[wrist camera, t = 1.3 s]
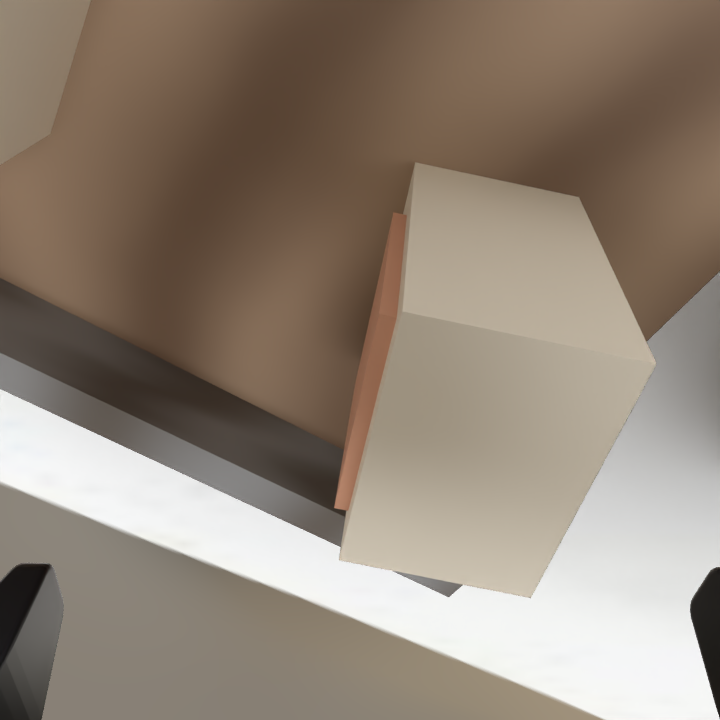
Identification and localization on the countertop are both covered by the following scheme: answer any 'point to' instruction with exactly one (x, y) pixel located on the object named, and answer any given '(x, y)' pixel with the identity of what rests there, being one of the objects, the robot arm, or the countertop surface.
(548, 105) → the brown tray
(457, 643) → the countertop surface
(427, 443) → the askew carton
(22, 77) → the faced carton
